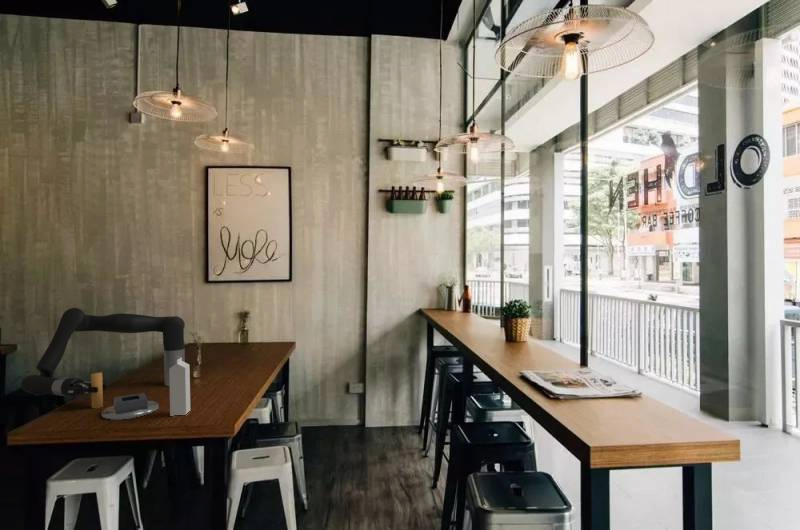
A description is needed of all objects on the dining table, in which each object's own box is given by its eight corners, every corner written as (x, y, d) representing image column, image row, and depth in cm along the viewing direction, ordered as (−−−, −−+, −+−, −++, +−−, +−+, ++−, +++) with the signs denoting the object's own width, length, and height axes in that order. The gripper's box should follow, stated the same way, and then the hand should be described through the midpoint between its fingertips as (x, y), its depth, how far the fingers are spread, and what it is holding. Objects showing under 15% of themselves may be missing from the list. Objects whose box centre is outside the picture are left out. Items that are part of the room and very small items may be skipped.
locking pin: (102, 405, 202) (102, 372, 202) (103, 407, 199) (102, 373, 198) (91, 406, 200) (90, 373, 200) (91, 409, 196) (91, 375, 196)
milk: (190, 411, 192) (189, 356, 192) (186, 415, 186) (185, 359, 186) (174, 412, 191) (173, 357, 191) (169, 416, 185) (169, 360, 185)
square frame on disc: (155, 401, 206) (154, 388, 206) (161, 413, 189) (161, 399, 189) (100, 410, 195) (100, 396, 195) (102, 423, 178) (102, 409, 178)
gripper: (52, 382, 195) (88, 383, 191) (81, 373, 209) (115, 375, 205) (52, 400, 195) (88, 402, 192) (82, 390, 209) (116, 392, 206)
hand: (102, 388), depth 199 cm, fingers open, 4 cm apart
